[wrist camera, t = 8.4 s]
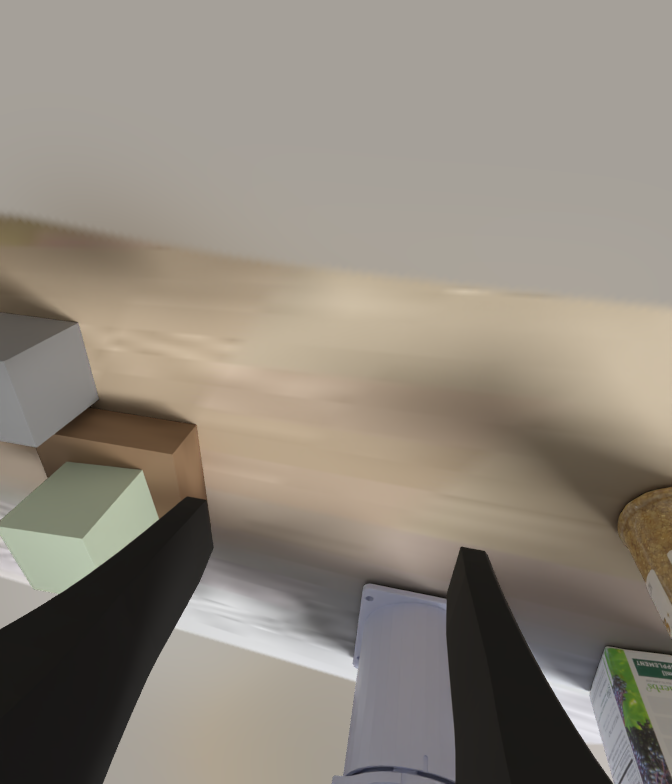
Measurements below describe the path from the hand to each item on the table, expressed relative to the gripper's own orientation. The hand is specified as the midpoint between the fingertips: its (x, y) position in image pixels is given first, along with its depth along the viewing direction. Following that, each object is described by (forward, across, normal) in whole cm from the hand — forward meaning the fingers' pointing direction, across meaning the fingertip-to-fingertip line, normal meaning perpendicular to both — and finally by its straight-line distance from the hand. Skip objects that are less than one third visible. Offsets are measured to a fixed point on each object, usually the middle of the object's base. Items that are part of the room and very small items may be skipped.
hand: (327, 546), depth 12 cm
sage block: (+7, +13, +8) cm, 17 cm away
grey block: (+10, +17, +1) cm, 20 cm away
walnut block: (+10, +13, +8) cm, 18 cm away
